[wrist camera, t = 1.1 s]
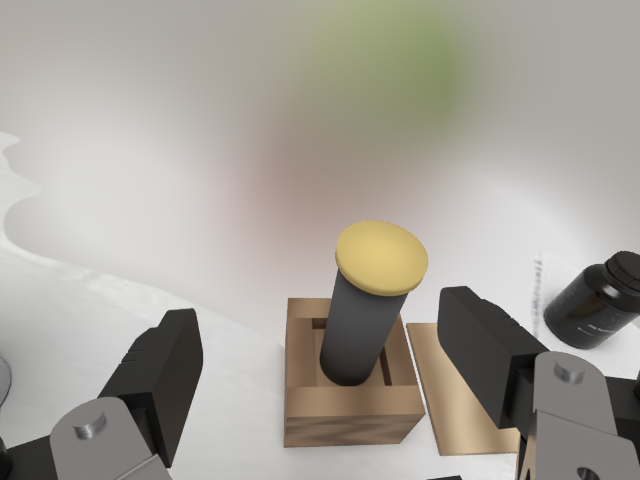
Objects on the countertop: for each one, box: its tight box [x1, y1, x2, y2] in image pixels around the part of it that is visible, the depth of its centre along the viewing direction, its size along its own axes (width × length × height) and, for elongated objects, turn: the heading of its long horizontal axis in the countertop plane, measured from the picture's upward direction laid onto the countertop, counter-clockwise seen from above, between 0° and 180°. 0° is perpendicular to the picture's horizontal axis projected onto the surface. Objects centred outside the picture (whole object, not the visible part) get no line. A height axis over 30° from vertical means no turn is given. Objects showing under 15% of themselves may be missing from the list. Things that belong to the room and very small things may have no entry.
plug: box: [319, 220, 428, 387], centre depth 27 cm, size 6×6×15 cm
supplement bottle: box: [545, 251, 640, 349], centre depth 41 cm, size 7×7×12 cm
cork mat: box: [406, 323, 520, 456], centre depth 38 cm, size 14×14×1 cm
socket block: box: [284, 298, 426, 448], centre depth 34 cm, size 11×11×8 cm
